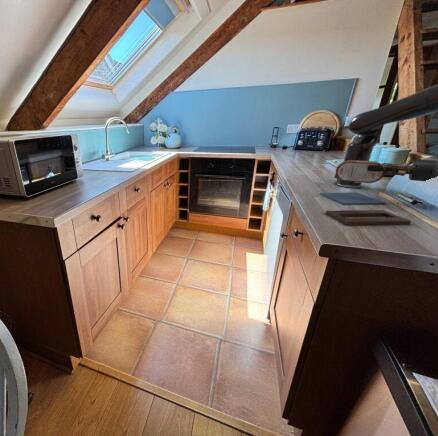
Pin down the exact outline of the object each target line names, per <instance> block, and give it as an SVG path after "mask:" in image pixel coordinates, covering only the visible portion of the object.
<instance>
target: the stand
mask: <svg viewBox="0 0 438 436" xmlns="http://www.w3.org/2000/svg"><path fill="white" fill-rule="evenodd" d="M325 215H327V216H329V217H330V218H332V219H333V220H336V221H337V222H340V223H341V224H343V225H345V226H391V225H393V226H394V225H399V226H401V225H404V226H405V225H411V223H412V220H410V219H407V218H405V217H403V216H399V215H397V214H395V213H392V212H390V211H388V210H384V209H363V210H358V209H357V210H353V209H351V210H325Z"/></svg>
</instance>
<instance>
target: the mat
mask: <svg viewBox="0 0 438 436" xmlns="http://www.w3.org/2000/svg"><path fill="white" fill-rule="evenodd" d="M320 196H323V197H325V198H327V199H330V200H332V201H335V202H336V203H338V204H340V205H385V204H386V202H384V201H381V200H378V199H376V198H374V197H370V196H368V195H365V194H363V193H359V192H320Z"/></svg>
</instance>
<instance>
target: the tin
mask: <svg viewBox="0 0 438 436" xmlns="http://www.w3.org/2000/svg"><path fill="white" fill-rule="evenodd" d="M369 165H381V167H382V166H383V165H382V163H381V162H378V161H373V160H369V161H357V160H347V161H344V160H343V161H342V162H340V163H339V164H338V165H337V166H336V168H335V174H336V175H337V177H338V178H339V179H340V180H343V181H350V182H362V184H364V183H365V184H372V183H377V182H379V181H380V180H382V178H383V177H384V175H385V174H384V173H381V172H378V171H368V170H367V168H368V166H369Z"/></svg>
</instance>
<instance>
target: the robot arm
mask: <svg viewBox="0 0 438 436" xmlns="http://www.w3.org/2000/svg"><path fill="white" fill-rule="evenodd" d="M434 113H438V83H437V84H435V85H432V86H429V87H427V88H424V89H422V90H419V91H417V92H414V93H412V94H410V95H407V96H405V97H402V98H400V99H398V100H395V101H393V102H391V103H389V104H386V105H383V106H380V107H377V108H374V109H370V110H368V111H364V112H361V113H359V114H356V115H355V116H353V118H351V120H350V121H349V123H348V130H349V131H350V133H353V134H354V135H357V136H356V138H354V139H353V140H352V141H351V142H349V143H348V145H347V148H346V152H345V155H344V159H343V162H344V161H347V160H357V161H370V159H371V156H372V154H373V150H374V148H375V146H376V145H377V144H378V142H379V140H380V137H381V134H382V132H383V129H384V127H385V125H387V124H392V123H396V122H402V121H406V120H407V121H408V120H412V119H413V120H414V119H416V118H421V117H425V116H428V115H432V114H434ZM381 164H382V165H383V166H382V167H381V165H369V166H368V168H367V170H368V171H378V172H381V173H384V175H393V176H394V175H395V176H401V177H405V176H406V175H408V179H409V180H410V181H413V182H414V181H416V182H426V180H429V179H431V178H435V177H437V176H438V171H437V170H438V159H422V158H421V159H419V158H418V159H415V160H414V162H413V163H412V164H411V165H410V164H407V163H406V162H383V163H381ZM333 178H334V179H336V180H335V184H336V185H337V186H340V187H342V188H349V189H358V188H361V187H362V184H363V183H362V182H350V181H343V180H340V179H339V178H338V177H337V175H336V173H335V174H334V177H333Z"/></svg>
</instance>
